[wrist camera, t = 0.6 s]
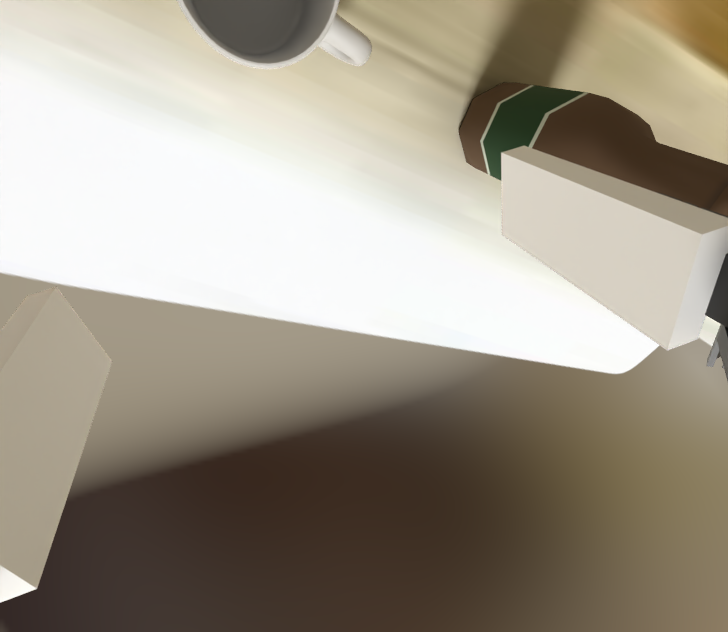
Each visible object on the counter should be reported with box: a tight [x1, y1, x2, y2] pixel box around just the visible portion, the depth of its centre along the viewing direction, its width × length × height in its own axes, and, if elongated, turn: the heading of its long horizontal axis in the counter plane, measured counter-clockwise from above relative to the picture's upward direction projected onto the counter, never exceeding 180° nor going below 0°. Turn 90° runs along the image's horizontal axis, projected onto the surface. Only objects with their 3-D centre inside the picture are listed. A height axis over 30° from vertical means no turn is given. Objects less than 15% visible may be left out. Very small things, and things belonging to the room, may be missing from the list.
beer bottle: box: [459, 83, 728, 216], centre depth 29 cm, size 8×8×24 cm
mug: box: [177, 0, 372, 69], centre depth 26 cm, size 12×8×11 cm
